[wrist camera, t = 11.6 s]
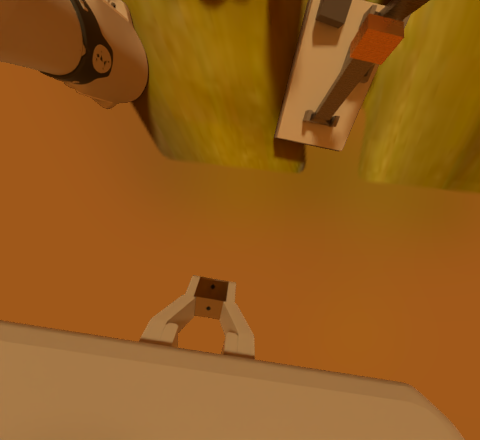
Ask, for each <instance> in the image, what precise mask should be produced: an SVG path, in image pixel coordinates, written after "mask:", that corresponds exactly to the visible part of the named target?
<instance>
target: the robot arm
mask: <svg viewBox="0 0 480 440" xmlns="http://www.w3.org/2000/svg"><path fill="white" fill-rule="evenodd" d="M114 5H116V8H114ZM0 61H1V62H6V63H10V64H15V65H19V66H23V67H28V68H31V69H35V70H38V71H40V72H41V73H43V74H45V75H47V76H50V77H53V78H54V79H57V80H60V81H63V82H64V84H65V85H67V86H68V87H70V88H74V89H75V90H76V92H77V93H79V94H82V95H85V96H89V97H91V98H92V99H93V100H94V101H96V102H97V103H98V104H99V105H101V106H102V107H103V108H106V109H110V108H112V107H114V106H115V105H116V104H118V103H127V102H131V101H133V100H135V99H137V98H138V97H139V96H140V95H141V94H142V92H143V91H144V89H145V86H146V83H147V78H148V64H147V58H146V54H145V51H144V48H143V45H142V43H141V41H140V39H139V37H138V35H137V34H136V32H135V30H134V27H133V24H132V20H131V15H130V12H129V9H128V7H127V5H126V4H125V3H124V2H123V1H121V0H0ZM235 291H236V283H235V282H229V281H224V280H217V279H211V278H206V277H200V276H195V275H193V277H192V279H191V281H190V284H189V286H188V289H187V291H186V294H185V295H182V296H181V297H179V298H178V299H177V300H175V301H174V302H173V303H171V304H170V305H169V306H167V307H166V308H165V309H163V310H162V311H161V312H159V313H158V314H157V315H155V316H154V317H153V318H151V320H150V321H149V323H148V325H147V327H146V329H145V331H144V333H143V335H142V336H141V338H140V341H139V342H136V341H130V340H124V339H118V338H111V337H104V336H98V335H91V334H85V333H79V332H72V331H65V330H59V329H53V328H46V327H40V326H34V325H27V324H21V323H15V322H8V321H2V320H0V440H465V439H464V438H463V436H462V435H461V434H460V432H459V431H458V430H457V429H456V427H455V426H454V425H453V423H452V422H451V421H450V420H449V419H448V418H447V417H446V416H445V415H444V414H443V413H442V412H441V411H440V410H438V409H437V408H436V407H435V406H434V405H433V404H432V403H431V402H430V401H429V400H428V399H427V398H425V397H424V396H423V395H422V394H421V393H420V392H419V391H417V390H416V389H415V388H414V387H412V386H411V385H409V384H406V383H402V382H397V381H390V380H384V379H377V378H371V377H364V376H357V375H351V374H345V373H338V372H331V371H326V370H319V369H312V368H306V367H300V366H293V365H287V364H280V363H274V362H266V361H261V360H255V358H254V335H253V333H252V331H251V329H250V328H249V326H248V324H247V322H246V320H245V318H244V317H243V315H242V313H241V311H240V309H239V307H238V306H237V304H235V303H234V302H235ZM194 316H202V317H208V318H213V319H219V320H220V323H221V326H222V328H223V331H224V334H225V341H224V345H223V349H222V352H221V354H214V353H209V352H202V351H196V350H188V349H182V348H177V346H178V333H179V332H180V331H181V329H183V328H184V327H185V325H186V324H187V323H188V322H189V321H190V320H191V319H192V318H193V317H194Z"/></svg>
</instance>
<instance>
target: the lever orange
mask: <svg viewBox="0 0 480 440" xmlns="http://www.w3.org/2000/svg"><path fill="white" fill-rule="evenodd" d="M403 38H404V22H403V21H399V20H395V19H391V18H386V17H382V16H378V15H374V14H370V13H368V15H367V17H366V18H365V20H364V22H363V23H362V25H361V27H360V28H359V30H358V32H357V34H356V35H355V37H354V39H353V40H352V42H351V45H350V57H349V59H348V60H347V62H346V64H345V65H344V67H343V68H342V70H341V72H340V73H339V75H338V76H337V78H336V79H335V81H334V83H333V84H332V86H331V87H330V89H329V91H328V92H327V94H326V95H325V97H324V98H323V100H322V102H321V103H320V105H319V106H318V108H317V110H316V111H315V112H312V114H311V118H310V121H308V122H312V123H316V124H321V125H326V126H329V125H330V123H331V121H332V116H333V115H334V114H335V112H336V111H337V110H338V108H339V107H340V106H341V105H342V103H343V102H344V101H345V100H346V98H347V97H348V96H349V94H350V93H351V92H352V91H353V89H354V88H355V87H356V85H357V84H358V83H359V82H360V80H361V79H362V78H363V76H364V75H365V74H366V73H367V71H368V70H369V69H370V68H371V66H372V65H373V64H374V63H376V64H380V65H381V64H382V63H383V62H384V61H385V60H386V58H387V57H388V56H389V55H390V54H391V52H392V51H393V50H394V49H395V48H396V46H397V45H398V44H399V43H400V42H401V40H402V39H403Z"/></svg>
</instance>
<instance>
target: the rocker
mask: <svg viewBox="0 0 480 440" xmlns="http://www.w3.org/2000/svg"><path fill="white" fill-rule="evenodd" d="M351 3H352V0H320V4H319V7H318V11H317V15H316V18H315V20H317V21H319V22H322V23H325V24H327V25H330V26H333V27H336V28H340V27H341V26H342V25H344V24H345V21H346V18H347V15H348V12H349V9H350V6H351Z"/></svg>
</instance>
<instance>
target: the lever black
mask: <svg viewBox="0 0 480 440" xmlns="http://www.w3.org/2000/svg"><path fill="white" fill-rule="evenodd" d="M428 1H429V0H392V1H391V2H389V3H388V4H387V5H386V6H385V7H384V8H383V9H382V10H381V11H380V12H377V11H375V13H374V15H378V16H382V17H386V18H391V19H395V20H399V21H402V20H403V19H405V18H406V17H407V16H409V15H410V14H411V13H413V12H414V11H416V10H417V9H418V8H420V7H421V6H422V5H424V4H425V3H427V2H428Z"/></svg>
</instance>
